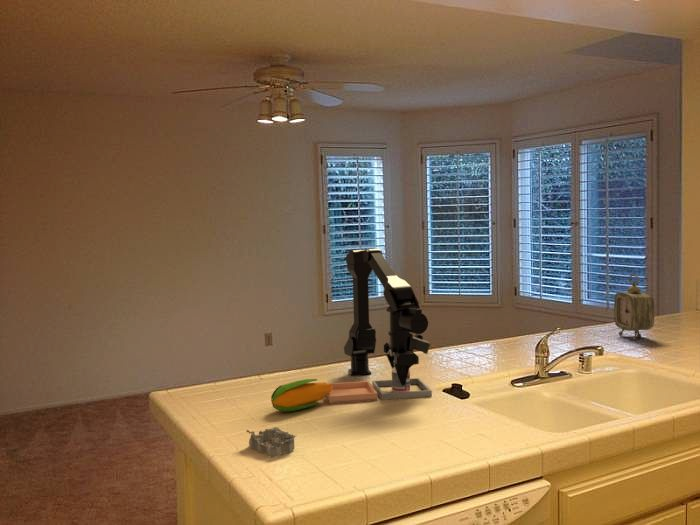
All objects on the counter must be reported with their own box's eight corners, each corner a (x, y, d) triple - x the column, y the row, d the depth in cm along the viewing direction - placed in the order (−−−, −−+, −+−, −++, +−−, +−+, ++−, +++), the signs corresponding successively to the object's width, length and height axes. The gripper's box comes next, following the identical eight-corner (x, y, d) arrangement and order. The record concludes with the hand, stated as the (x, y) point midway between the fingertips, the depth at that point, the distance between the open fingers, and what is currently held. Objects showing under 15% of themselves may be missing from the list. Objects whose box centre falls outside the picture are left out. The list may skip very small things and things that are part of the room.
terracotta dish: (324, 390, 190) (324, 383, 190) (368, 387, 192) (368, 381, 192) (329, 403, 177) (329, 396, 177) (377, 400, 179) (377, 393, 179)
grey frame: (372, 386, 194) (372, 380, 194) (418, 383, 196) (418, 377, 196) (381, 399, 180) (381, 393, 180) (431, 396, 182) (431, 390, 182)
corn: (263, 383, 170) (323, 369, 183) (263, 411, 171) (322, 395, 184) (280, 390, 164) (340, 375, 178) (280, 419, 165) (339, 402, 179)
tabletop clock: (613, 334, 262) (614, 273, 261) (635, 334, 263) (635, 272, 262) (633, 341, 248) (634, 276, 246) (655, 340, 249) (656, 275, 247)
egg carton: (244, 447, 146) (244, 429, 146) (273, 439, 151) (272, 422, 151) (270, 460, 138) (269, 441, 138) (299, 451, 143) (299, 433, 142)
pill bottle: (409, 393, 185) (408, 363, 184) (390, 393, 186) (390, 362, 185) (411, 388, 190) (410, 358, 189) (393, 388, 191) (392, 358, 190)
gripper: (436, 333, 178) (437, 389, 180) (419, 322, 197) (419, 373, 198) (396, 335, 177) (397, 391, 178) (382, 323, 195) (383, 375, 196)
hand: (400, 382), depth 188 cm, fingers closed on pill bottle, 5 cm apart
